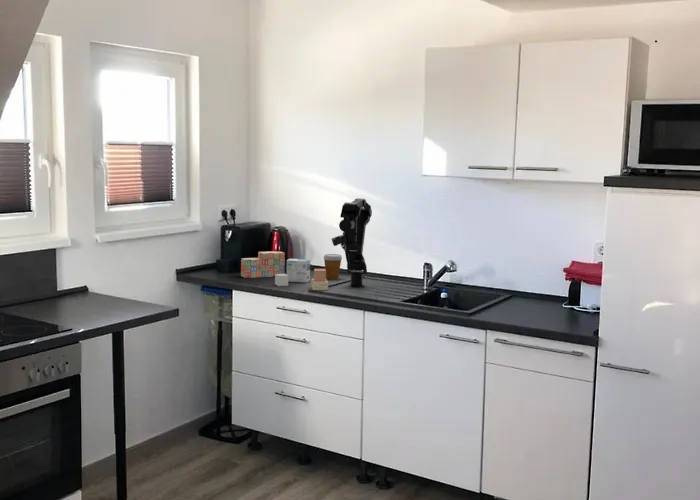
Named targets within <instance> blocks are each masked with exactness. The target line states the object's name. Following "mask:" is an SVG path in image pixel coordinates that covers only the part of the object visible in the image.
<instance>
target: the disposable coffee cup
mask: <svg viewBox="0 0 700 500" xmlns="http://www.w3.org/2000/svg"><path fill="white" fill-rule="evenodd" d="M342 258H343V257H342V255H341V254H336V253H326V254H324V255H323V260H324V269H325V270H326V279H327V280H330V281H331V280H332V281H335V280H336V281H337V280H339V277H340V272H341V271H340V269H341V265H342Z"/></svg>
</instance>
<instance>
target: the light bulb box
mask: <svg viewBox="0 0 700 500" xmlns="http://www.w3.org/2000/svg"><path fill="white" fill-rule="evenodd" d="M285 274H286V275H289V276H288V282H289V283H290V282H291V283H292V282H294V283H308V282H309V281H311V259H307V258H306V259H303V258H288V259H287V260H286V273H285Z"/></svg>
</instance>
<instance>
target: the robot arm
mask: <svg viewBox="0 0 700 500" xmlns="http://www.w3.org/2000/svg"><path fill="white" fill-rule="evenodd" d="M372 213H373V210H372V206H371V204H369V203H368V202H367V200H366V198H355V199H354V200H353V201H351V202H348V201H347V202H344V203H343V204H342V206H341V213H340V218H342V220H340V222H339V223H338V227H339V230H340V231H341V232H342V234H341V235H336V236H334V237H332V238H331V243H332V245H333V246H334V247H337V246H338V245H340V246H341V248H342V249H343V250H344V254H345V260H346V268H347V269H346V270H347V271H346V272H347V274H350V282H349V283H348V285H349V286H350V287H352V288H353V287H355V288H356V287H362V288H363V287H365V285H364V284H363V277H364V275H367V274H368V269H367V264H366V259H365V256H364V255H363V252H364V244H365V236H366V226H367V225H368V224H369V222H371V217H372V215H373V214H372Z"/></svg>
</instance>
